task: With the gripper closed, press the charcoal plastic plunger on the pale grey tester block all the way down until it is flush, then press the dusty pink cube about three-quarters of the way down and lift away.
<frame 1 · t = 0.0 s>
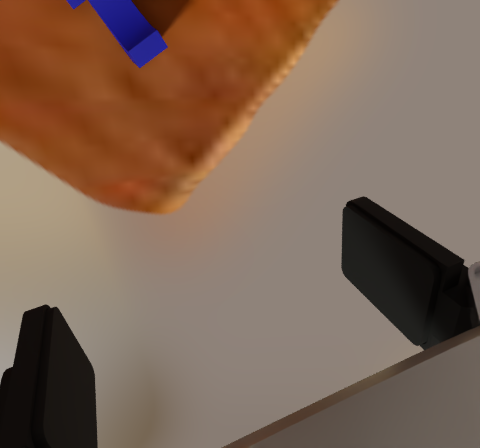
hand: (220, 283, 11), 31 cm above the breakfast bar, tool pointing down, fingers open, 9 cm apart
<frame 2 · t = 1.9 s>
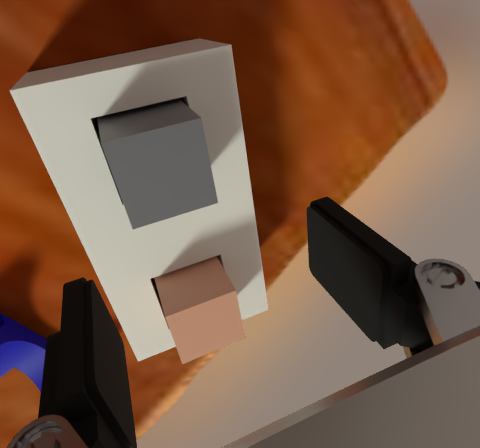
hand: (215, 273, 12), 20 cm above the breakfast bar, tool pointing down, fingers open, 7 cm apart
blue curved piece: (23, 348, 34), on the breakfast bar
charcoal plunger: (155, 156, 22), point 8 cm above the breakfast bar, slide at 0.0 cm
tester block: (159, 192, 31), on the breakfast bar
dusty pink cube: (196, 299, 28), point 8 cm above the breakfast bar, slide at 0.0 cm
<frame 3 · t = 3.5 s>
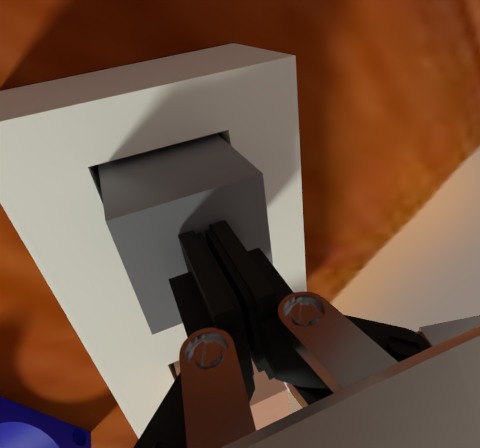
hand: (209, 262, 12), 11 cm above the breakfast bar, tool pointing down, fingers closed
blue curved piece: (9, 422, 27), on the breakfast bar
charcoal plunger: (181, 216, 15), point 8 cm above the breakfast bar, slide at 0.1 cm, touching gripper
tester block: (175, 238, 24), on the breakfast bar
dusty pink cube: (227, 384, 21), point 8 cm above the breakfast bar, slide at 0.0 cm
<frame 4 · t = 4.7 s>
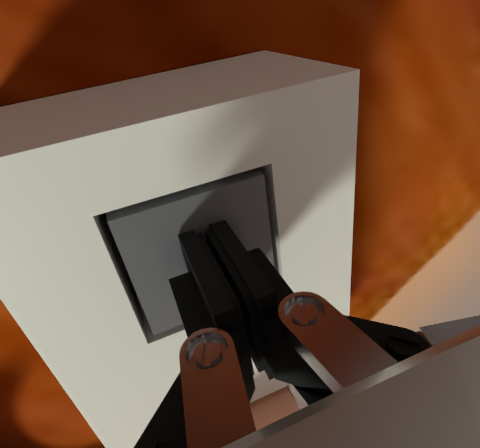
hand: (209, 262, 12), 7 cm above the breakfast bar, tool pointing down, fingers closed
charcoal plunger: (183, 216, 15), point 4 cm above the breakfast bar, slide at 4.0 cm, touching gripper
tester block: (191, 272, 21), on the breakfast bar
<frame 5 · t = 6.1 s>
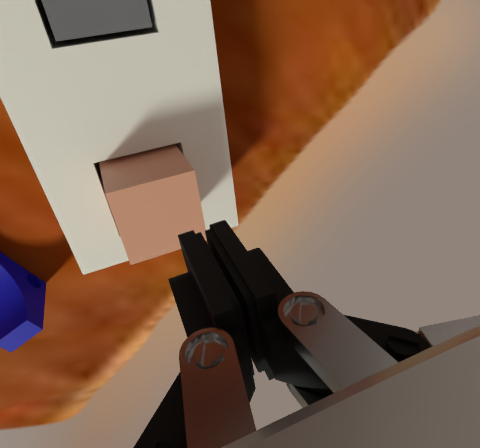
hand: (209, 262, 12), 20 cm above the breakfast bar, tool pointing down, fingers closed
tester block: (112, 80, 26), on the breakfast bar
dusty pink cube: (151, 195, 24), point 8 cm above the breakfast bar, slide at 0.0 cm
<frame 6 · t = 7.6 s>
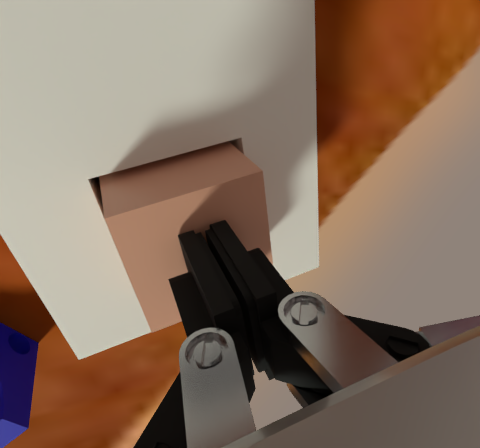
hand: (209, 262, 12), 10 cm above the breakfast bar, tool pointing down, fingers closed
tester block: (120, 43, 17), on the breakfast bar
dusty pink cube: (181, 213, 15), point 6 cm above the breakfast bar, slide at 1.5 cm, touching gripper
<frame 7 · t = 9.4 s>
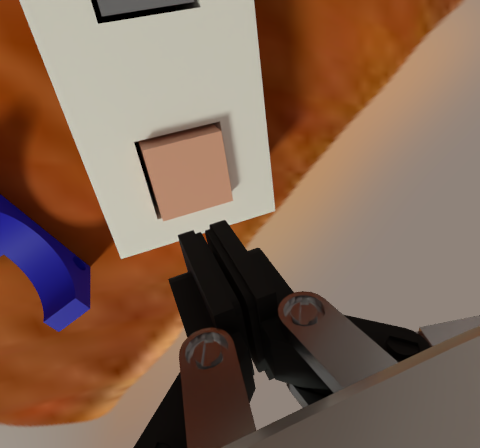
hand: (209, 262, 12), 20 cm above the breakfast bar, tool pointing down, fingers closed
blue curved piece: (15, 237, 29), on the breakfast bar
tester block: (149, 66, 27), on the breakfast bar
dusty pink cube: (181, 161, 26), point 5 cm above the breakfast bar, slide at 2.9 cm
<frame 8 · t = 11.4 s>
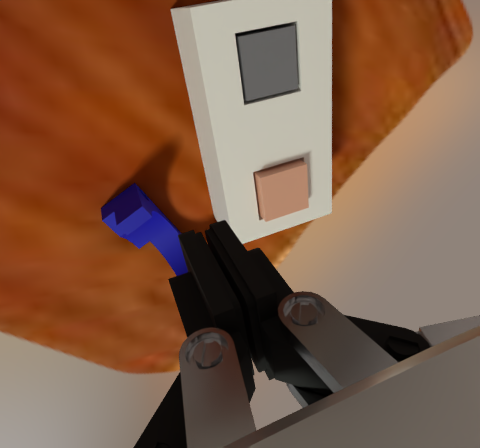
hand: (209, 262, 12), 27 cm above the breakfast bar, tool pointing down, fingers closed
blue curved piece: (152, 229, 42), on the breakfast bar
charcoal plunger: (255, 60, 33), point 4 cm above the breakfast bar, slide at 4.0 cm
tester block: (248, 115, 39), on the breakfast bar
dusty pink cube: (272, 181, 39), point 5 cm above the breakfast bar, slide at 2.9 cm
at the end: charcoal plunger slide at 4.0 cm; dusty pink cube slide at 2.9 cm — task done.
